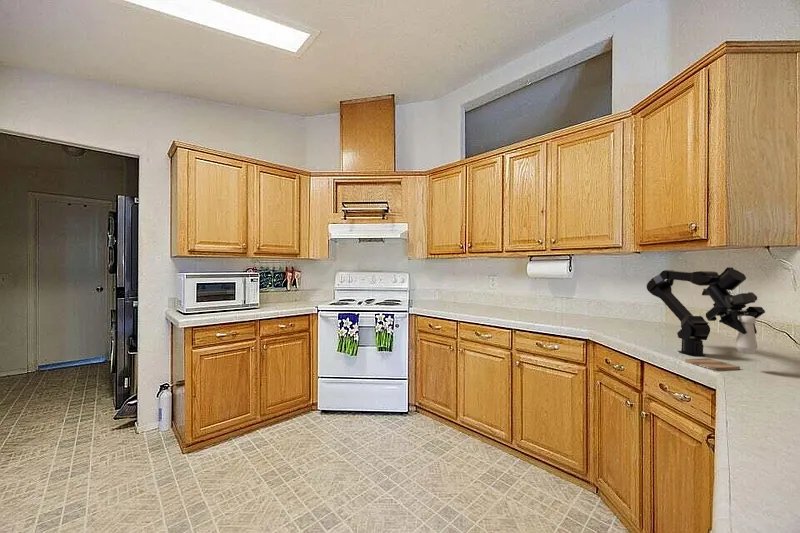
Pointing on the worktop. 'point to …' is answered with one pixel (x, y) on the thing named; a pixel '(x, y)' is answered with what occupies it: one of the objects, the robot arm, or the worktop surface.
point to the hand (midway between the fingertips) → (750, 333)
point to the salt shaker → (747, 336)
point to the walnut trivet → (713, 364)
